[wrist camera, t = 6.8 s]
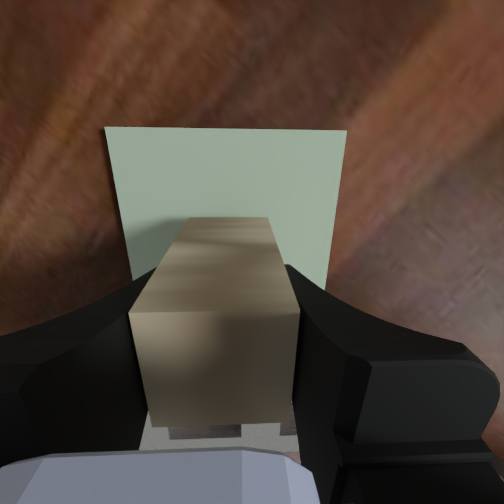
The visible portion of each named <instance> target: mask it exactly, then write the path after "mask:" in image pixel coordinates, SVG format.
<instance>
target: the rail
mask: <svg viewBox="0 0 504 504" xmlns="http://www.w3.org/2000/svg"><path fill="white" fill-rule="evenodd" d="M238 446H243V447H250V448H258V449H266V450H274V451H279V452H288V451H299V444H298V437H297V431H296V424H295V417H294V410H293V404H291V410H290V420H289V422H288V423H261V424H233V425H206V426H178V427H152V424H151V420H150V415H149V411H148V414H147V418H146V423H145V427H144V431H143V435H142V439H141V443H140V448H139V450H161V449H187V448H213V447H238Z"/></svg>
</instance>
